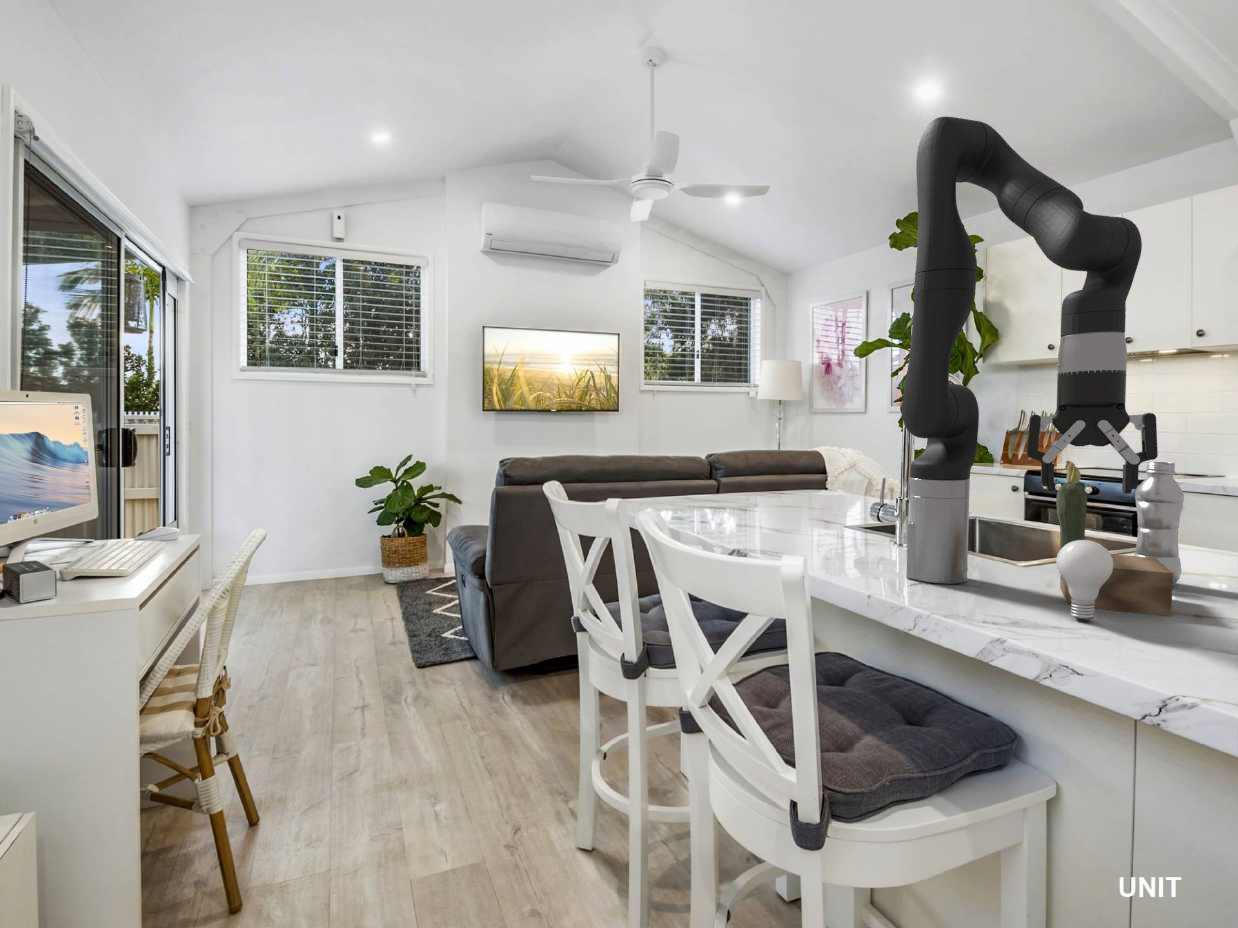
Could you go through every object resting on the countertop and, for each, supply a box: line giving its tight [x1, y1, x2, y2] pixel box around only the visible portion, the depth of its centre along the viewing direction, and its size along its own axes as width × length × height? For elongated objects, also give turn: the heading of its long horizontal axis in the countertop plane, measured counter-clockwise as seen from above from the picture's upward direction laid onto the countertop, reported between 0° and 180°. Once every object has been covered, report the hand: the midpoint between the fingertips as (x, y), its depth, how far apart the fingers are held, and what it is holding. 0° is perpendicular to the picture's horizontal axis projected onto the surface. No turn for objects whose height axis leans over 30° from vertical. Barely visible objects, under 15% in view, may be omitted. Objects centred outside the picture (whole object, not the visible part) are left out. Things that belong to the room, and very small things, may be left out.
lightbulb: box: [1055, 539, 1114, 622], centre depth 92 cm, size 6×6×11 cm
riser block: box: [1059, 553, 1174, 617], centre depth 102 cm, size 12×12×6 cm
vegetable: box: [1055, 460, 1088, 551], centre depth 118 cm, size 4×4×20 cm
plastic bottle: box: [1133, 461, 1185, 585], centre depth 112 cm, size 6×7×20 cm
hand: (1087, 491), depth 92 cm, fingers open, 8 cm apart
